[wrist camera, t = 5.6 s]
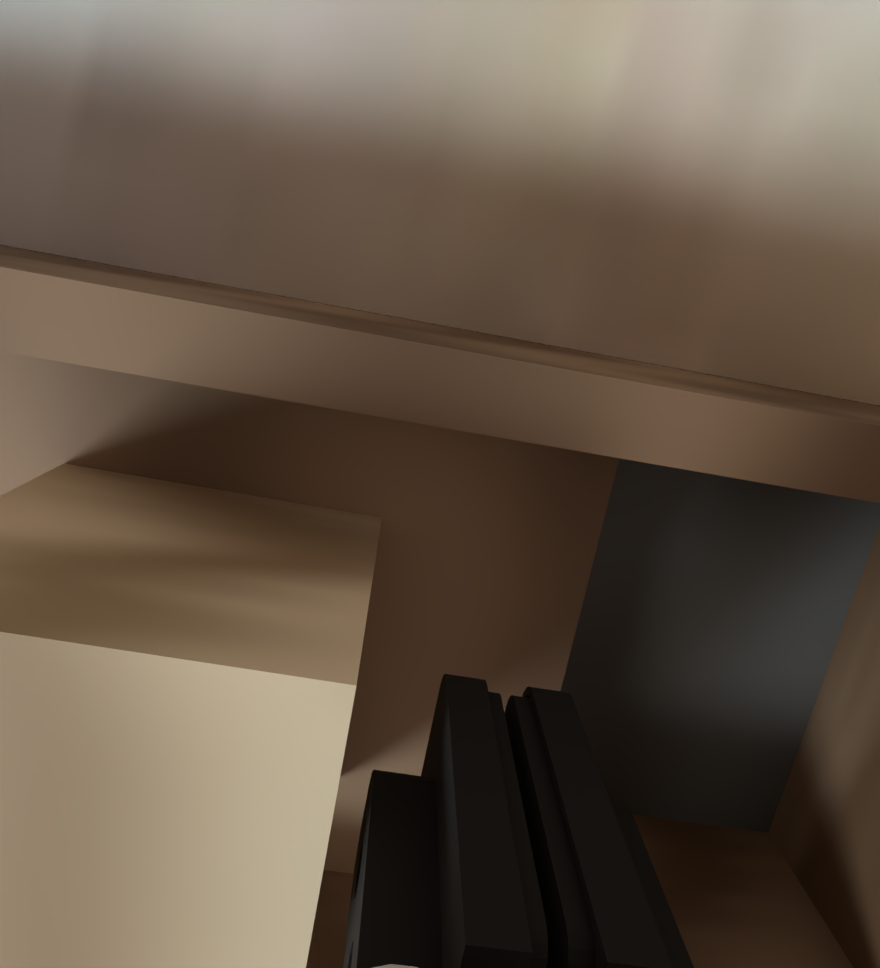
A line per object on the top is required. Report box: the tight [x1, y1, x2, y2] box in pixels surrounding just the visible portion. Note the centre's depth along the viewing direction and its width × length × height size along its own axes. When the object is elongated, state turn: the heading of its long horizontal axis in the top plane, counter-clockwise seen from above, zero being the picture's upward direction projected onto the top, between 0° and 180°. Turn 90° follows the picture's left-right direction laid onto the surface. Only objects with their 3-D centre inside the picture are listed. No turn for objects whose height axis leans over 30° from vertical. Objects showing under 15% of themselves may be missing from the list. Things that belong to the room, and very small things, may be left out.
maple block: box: [0, 463, 382, 968], centre depth 10 cm, size 5×5×5 cm
